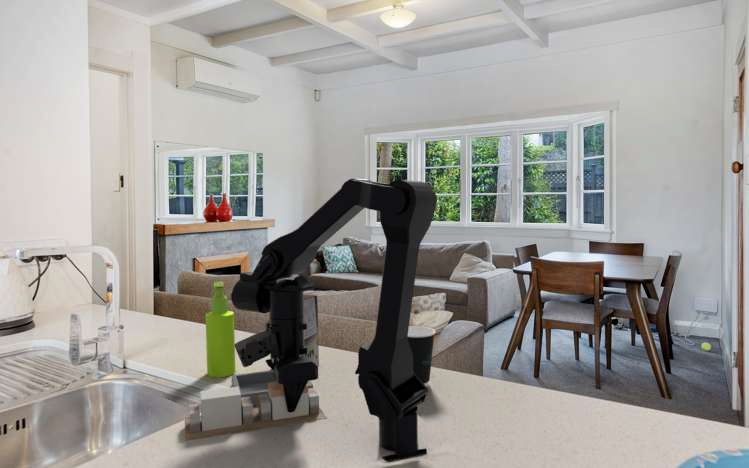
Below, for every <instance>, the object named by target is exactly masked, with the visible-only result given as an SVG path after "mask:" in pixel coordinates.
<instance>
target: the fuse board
mask: <svg viewBox="0 0 749 468" xmlns="http://www.w3.org/2000/svg"><path fill="white" fill-rule="evenodd" d="M308 401H309V415H304V416H297V417H291V418H284V419H278V420H273V419H272V417H271V402H270V400H269V398H268V396H267V394H265V395H258V404H257V406H256V407H253V406H254V405H252V402H251V399H250V397H243V398H241V419H242V425H238V426H232V427H225V428H219V429H212V430H206V431H202V421H201V408H200V403H195V404H194V403H193V404H188V405H189V406H188V407H189V409H188V411H189V417H184V421H185V423H184V425H185V427H184V428H185V430H184V431H185V436H184V437H185V442H188V441H192V440H200V439H205V438H212V437H219V436H224V435H230V434H236V433H243V432H249V431H256V430H261V429H267V428H268V429H269V428H275V427H280V426H281V427H282V426H286V425H293V424H294V425H295V424H300V423H301V424H302V423H307V422H312V421H313V422H314V421H319V420H325V419H328V417H327V416H326V414H325V413H324V412H323V410H322V409H321V407H320V395H319V394H318V392H317V391H316V390H315V388H314V387H313V388H310V389H308Z"/></svg>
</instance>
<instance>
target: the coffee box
mask: <svg viewBox="0 0 749 468" xmlns="http://www.w3.org/2000/svg"><path fill="white" fill-rule="evenodd" d="M303 299H304V321H305V322H306V323H307V330H304V345H305V346H306V347H307V354H302V355H300V356H299V357H301V356H308V357H309V358H310V359H312V360H313V361H314V362H315V364H316V365H317V366H318V367H319V366H320V357H319V356H320V354H319V353H320V352H319V349H320V348H319V313H318V295H315V294H314V295H313V294H304V293H303Z"/></svg>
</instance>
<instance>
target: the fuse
mask: <svg viewBox="0 0 749 468" xmlns="http://www.w3.org/2000/svg"><path fill="white" fill-rule="evenodd" d="M200 416H201V421H202V431H206V430H212V429H219V428H225V427H232V426H238V425H242V419H241V393H240V390H239V387H232V386H231V387H225V388H224V387H223V388H216V389H215V388H213V389H206V390H201V391H200Z"/></svg>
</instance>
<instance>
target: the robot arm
mask: <svg viewBox="0 0 749 468" xmlns="http://www.w3.org/2000/svg"><path fill="white" fill-rule="evenodd" d="M437 201H438V197H437V194H436V192H435V191H434V189H433V188H432V186H431V185H429V184H428V183H426V182H423V181H420V180H419V181H418V180H408V179H407V180H404V179H399V180H393V181H390V182H389V183H386V182H385V183H384V182H377V181H372V180H371V179H365V178H350V179H347V180H346V181H344V182H343V184H342V185H341V188H340V189H338V191H336V192H335V193H334V194H333V195H332V196H331V197H330V198H329V199H328V200H326V202H325V203H324V204H322V205H321V206H320V207H319V209H317V210H316V211H315V212H314V213H313V214H311V216H310V217H308V218H307V219H306V220H305V221H304V222H303V223H302V224H301V225H300V226H299V227H298V228H296V229H295V230H293V231H291V232H288V233H287V234H283V235H281V236H279V237H277V238H276V239H274V240H273V241H271V242H269V243H267V244H266V245H265V246H264V247H263V249H262V251H261V255H262V256H261V257H260V260H259V261H258V263H257V265H256V267H255V269H254V270H253V271H246V272H240V273H239V280H238V281H237V282H236V283H235V285H234V286H233V289H232V292H231V293H230V299H231V302H232V305H233V306H234V308H236V309H237V310H239V311H244V312H251V313H252V312H253V313H260V314H268V313H269V314H268V316H269V318H268V320H267V322H266V323H265V330H263V331H260V332H256V333H255V334H252V335H250V336H248V337H245V338H244V339H240V340H239V341H238V342H236V343H235V345H234V346H235V352H236V354H237V356H238V357H239V360H240V362H241V365H242V367H244V368H247V367H250V366H252V365H253V364H254V363H256V362H258V361H260V360H262V359H264V358H266V357H268V356H269V359H266V360H265V363H266V364H267V366H268V367H269V368H270V369H271V370H274V371H275V374H273V376H274V378H275V379H276V380H277V382H278V383H279V384H282V386H283V391H284V396H285V401H286V406H287V410H288V412H294V411H295V409H296V407H297V405H298V402H299V400H300V398H301V395H302V393H303V391H304V389H305V387H306V385H307V383H308V381H315V380H316V381H317V380H318V379H319V366H317V365H316V364H315V362H314V361H313V360H312V359H310V358H309V357H308V356H301V357H299V356H300V355H302V354H307V347H306V346H305V345H304V330H307V323H306V322H305V321H304V299H303V294H304V292H308V291H312V290H315V286H314V285H313V283H312V282H310V281H309V280H308V279H307V278H306V276H305V275H301V276H300V275H299V274H302V273H304V272H305V271H306V270H307V269H308V268H309V267H310V265H312V264H313V262H314V260H315V259H316V257H317V253H318V251H319V249H320V248H321V247H322V245H324V244H325V243H326V242H327V241H328V240H329V239H330V238H332V237H333V236H334V235H335V234H337V233H338V232H339V231H340V230H341V229H342V228H343V227H344V226H346V224H348V223H349V222H350V221H351V220H352V219H353V218H355V217H356V216H357V215H358V214H360V212H361V211H362V210H365V209H368V210H372V211H378V212H379V219H380V220H379V222H380V225H381V229H382V231H383V235H384V237H385V242H386V243H385V244H386V246H385V254H384V261H383V262H384V263H383V270H382V276H381V277H382V278H381V284H380V291H379V292H380V294H379V301H378V309H377V319H376V324H375V325H376V327H375V334H374V337H373V339H372V342H371V341H370V342H369V343H367V344H364V345H362V346H360V347H358V348H359V349H358V352H357V357H358V360H357V361H358V363H357V367H356V369H355V371H354V375H358V377H357V380H358V381H357V382H358V383H357V384H358V387H359V389H361V390H362V392H363V396H364V400H365V403H366V405H367V409H368V413H369V415H370V416H375V417H377V418H378V444H379V446H380V447H381V448H382V449H384V450H386V451H388V452H393V454H388V455H384V456H382V458H383V460H384V461H385V462H393V461H398V460H404V459H407V458H408V459H409V458H413V457H417V456H423V455H427V453H428V451H427V450H428V449H427V448H426V447H425V448H420V449H418V445H419V444H418V442H419V441H418V437H419V436H418V433H419V432H418V427H419V425H418V423H419V420H418V414H419V413H418V410H419V408H418V406H419V405H421V404H422V403H424V402H425V401H426V398H427V396H428V393H429V388H428V386H427V387H426V386H425V385H424V384H423V382H422V381H421V380H420V379H419V377H418V376H417V375H416V374H415V372H414V371H413V354H412V351H411V348H410V345H409V342H408V329H409V326H410V321H411V320H410V319H411V313H412V303H413V298H414V292H415V291H414V290H415V289H414V288H415V281H416V275H417V265H418V261H419V254H420V253H419V252H420V246H421V243H422V241H423V239H424V237H425V236H426V234H427V232H428V230H429V229H430V227H431V224H432V220H433V217H434V214H435V211H436V209H437V205H438V202H437ZM294 275H299V276H295V277H294V279H289V278H291V277H293V276H294Z"/></svg>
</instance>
